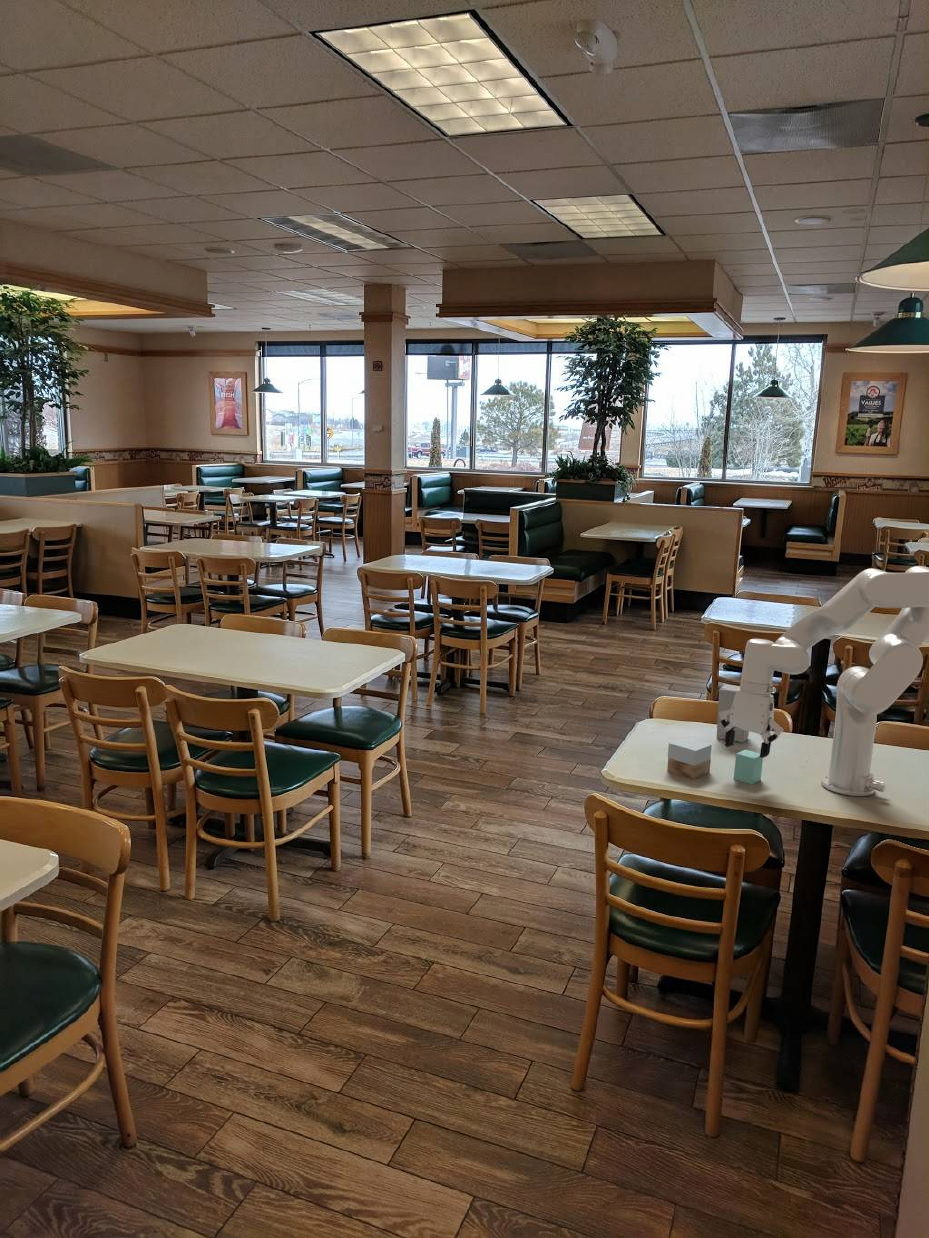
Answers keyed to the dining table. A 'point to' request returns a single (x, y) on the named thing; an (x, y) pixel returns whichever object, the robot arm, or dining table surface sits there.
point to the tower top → (689, 751)
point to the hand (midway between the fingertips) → (746, 751)
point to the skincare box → (724, 704)
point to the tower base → (688, 768)
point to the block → (748, 767)
